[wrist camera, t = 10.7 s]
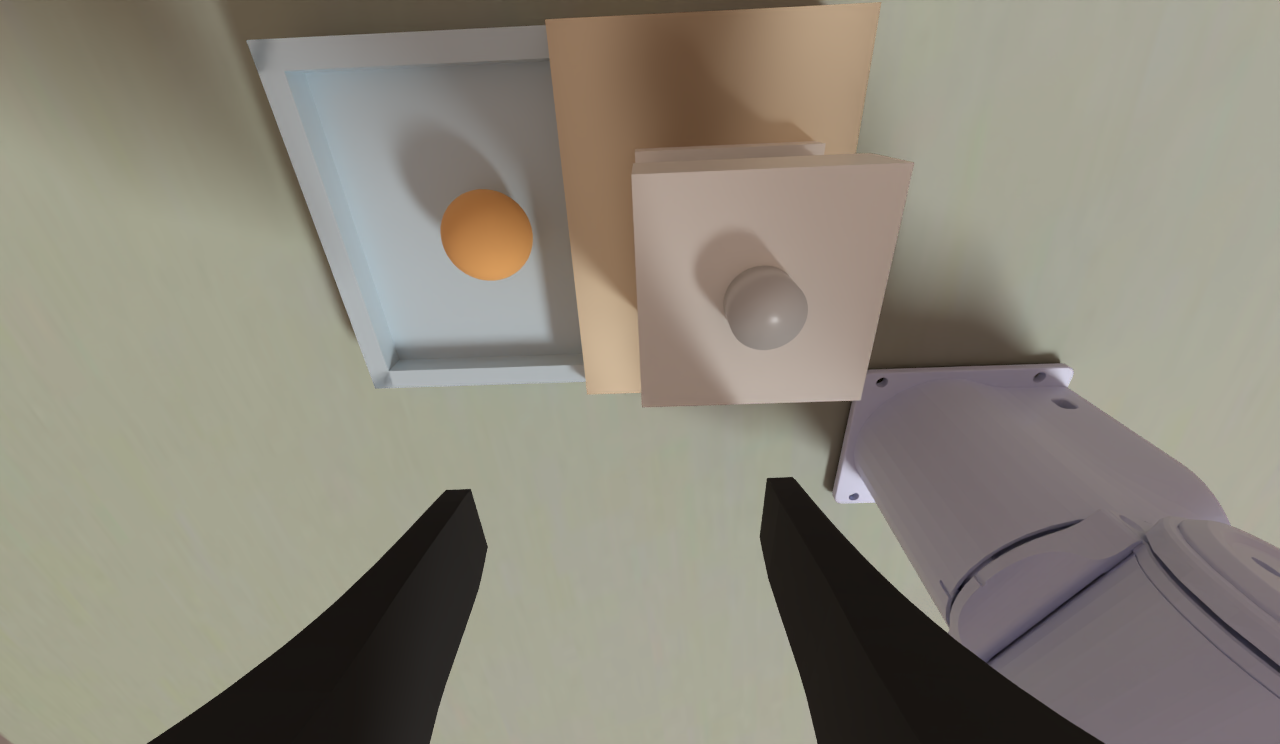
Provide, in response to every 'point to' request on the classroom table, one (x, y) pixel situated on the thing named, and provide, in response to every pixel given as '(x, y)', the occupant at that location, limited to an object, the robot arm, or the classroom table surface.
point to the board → (684, 126)
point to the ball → (486, 234)
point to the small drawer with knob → (761, 270)
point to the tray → (431, 195)
